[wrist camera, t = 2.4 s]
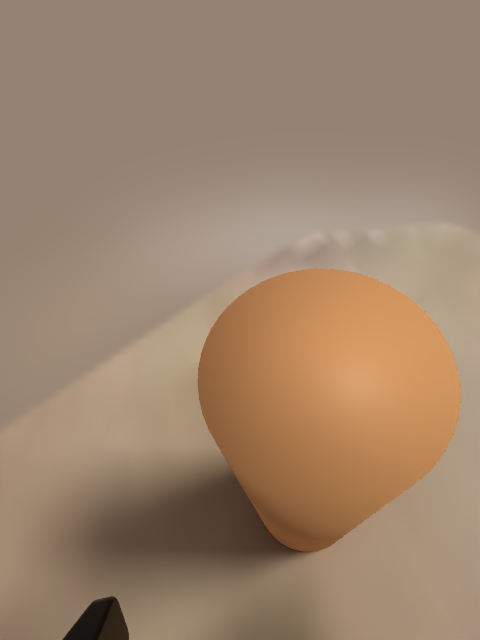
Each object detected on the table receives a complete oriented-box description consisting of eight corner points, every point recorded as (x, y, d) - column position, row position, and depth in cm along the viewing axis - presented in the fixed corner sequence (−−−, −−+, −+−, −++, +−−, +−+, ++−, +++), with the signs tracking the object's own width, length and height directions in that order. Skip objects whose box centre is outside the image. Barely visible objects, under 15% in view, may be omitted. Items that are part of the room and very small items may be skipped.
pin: (372, 500, 17) (516, 369, 6) (306, 576, 16) (334, 582, 5) (302, 431, 19) (315, 235, 8) (238, 495, 18) (150, 368, 7)
